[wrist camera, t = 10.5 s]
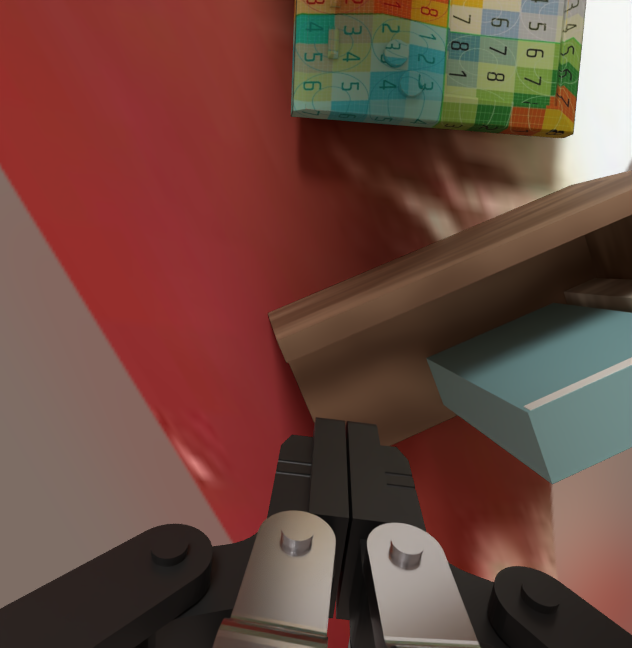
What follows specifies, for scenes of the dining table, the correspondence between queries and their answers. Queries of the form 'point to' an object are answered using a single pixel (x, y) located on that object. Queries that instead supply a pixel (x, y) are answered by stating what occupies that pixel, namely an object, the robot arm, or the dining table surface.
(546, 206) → the open wooden box
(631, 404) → the rectangular block
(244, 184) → the dining table surface
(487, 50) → the puzzle game
